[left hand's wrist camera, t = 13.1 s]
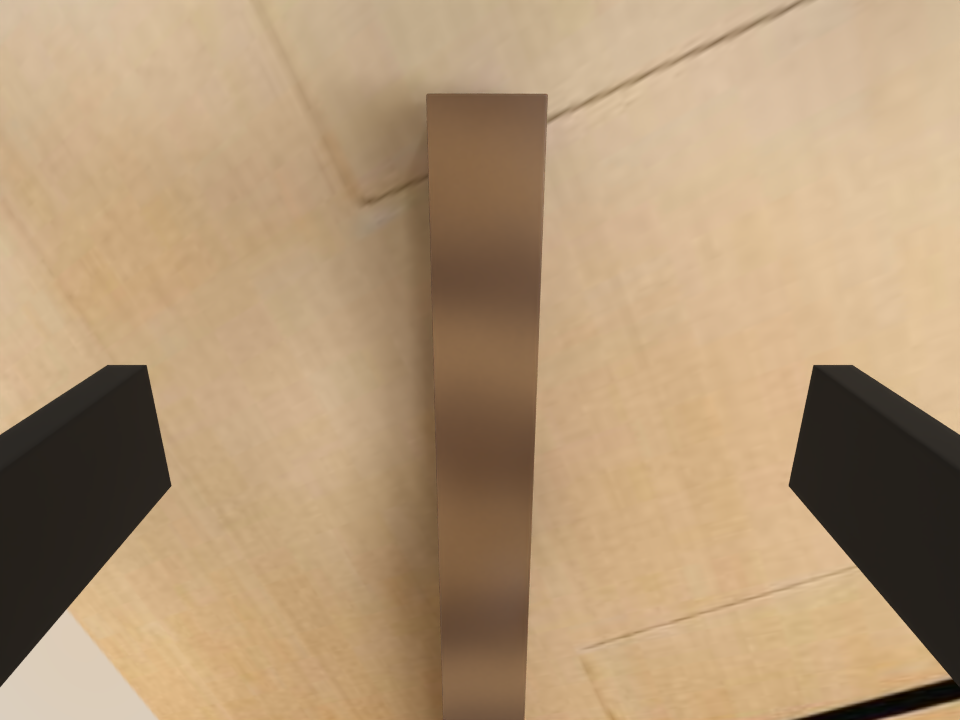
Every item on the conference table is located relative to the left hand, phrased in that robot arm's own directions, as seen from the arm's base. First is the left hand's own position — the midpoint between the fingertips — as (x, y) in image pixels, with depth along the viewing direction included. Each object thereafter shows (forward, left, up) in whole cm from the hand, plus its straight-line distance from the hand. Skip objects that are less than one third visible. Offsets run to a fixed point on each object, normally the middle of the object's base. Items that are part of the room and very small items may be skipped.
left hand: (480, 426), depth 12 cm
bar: (+20, +5, -24) cm, 32 cm away
